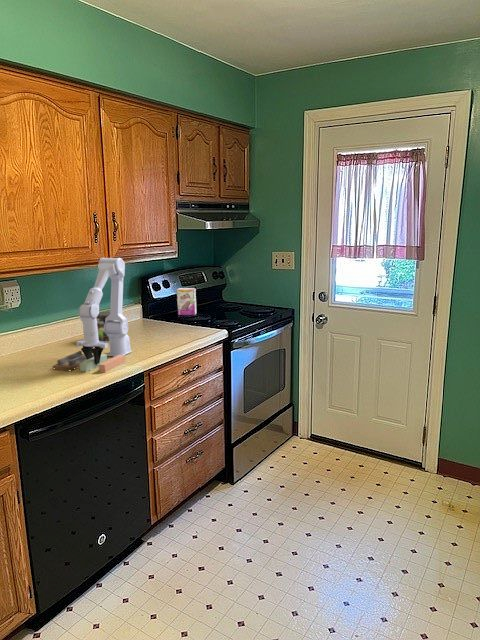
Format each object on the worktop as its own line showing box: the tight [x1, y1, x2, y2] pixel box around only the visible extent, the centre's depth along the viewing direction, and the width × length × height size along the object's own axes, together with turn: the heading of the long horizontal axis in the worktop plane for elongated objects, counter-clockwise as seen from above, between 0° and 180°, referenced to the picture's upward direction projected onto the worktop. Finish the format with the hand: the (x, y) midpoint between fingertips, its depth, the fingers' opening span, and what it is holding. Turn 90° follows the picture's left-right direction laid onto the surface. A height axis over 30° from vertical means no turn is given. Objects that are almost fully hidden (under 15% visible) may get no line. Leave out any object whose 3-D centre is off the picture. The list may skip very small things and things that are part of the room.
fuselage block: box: [79, 353, 108, 373], centre depth 205 cm, size 14×3×4 cm, turn 158°
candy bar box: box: [176, 287, 198, 316], centre depth 300 cm, size 11×5×16 cm, turn 82°
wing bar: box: [98, 355, 126, 374], centre depth 204 cm, size 14×3×4 cm, turn 158°
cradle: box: [52, 350, 94, 371], centre depth 210 cm, size 18×9×4 cm, turn 158°
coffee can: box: [96, 310, 118, 343], centre depth 246 cm, size 10×10×14 cm
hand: (93, 363), depth 205 cm, fingers closed on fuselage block, 3 cm apart
